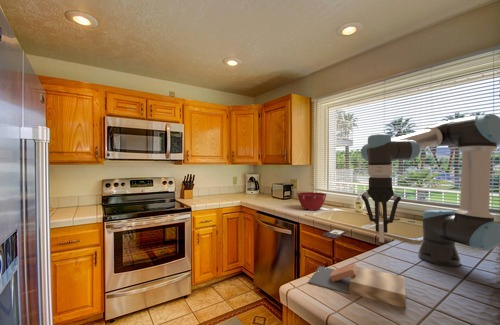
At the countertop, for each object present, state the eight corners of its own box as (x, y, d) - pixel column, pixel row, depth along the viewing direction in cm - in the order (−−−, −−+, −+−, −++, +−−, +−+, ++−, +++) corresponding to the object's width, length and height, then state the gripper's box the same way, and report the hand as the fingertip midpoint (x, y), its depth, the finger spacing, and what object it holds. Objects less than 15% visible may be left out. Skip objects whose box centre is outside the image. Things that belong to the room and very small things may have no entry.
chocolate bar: (321, 235, 143) (332, 229, 157) (321, 236, 143) (332, 230, 157) (335, 238, 137) (346, 231, 151) (335, 239, 137) (346, 233, 151)
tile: (357, 268, 87) (354, 263, 88) (355, 275, 82) (352, 269, 83) (335, 275, 91) (333, 270, 92) (332, 281, 86) (329, 276, 87)
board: (403, 287, 83) (403, 276, 83) (405, 308, 71) (405, 295, 71) (354, 276, 91) (354, 266, 91) (349, 292, 79) (349, 281, 79)
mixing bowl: (291, 209, 230) (291, 193, 230) (305, 205, 252) (305, 191, 252) (319, 213, 212) (319, 196, 212) (330, 208, 233) (330, 193, 233)
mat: (355, 275, 92) (355, 274, 92) (348, 294, 79) (348, 293, 79) (319, 266, 100) (319, 266, 100) (308, 283, 86) (308, 281, 86)
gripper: (359, 177, 85) (361, 241, 85) (401, 177, 79) (403, 247, 79) (361, 175, 92) (363, 235, 92) (400, 176, 85) (402, 240, 85)
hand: (381, 240), depth 85 cm, fingers closed
